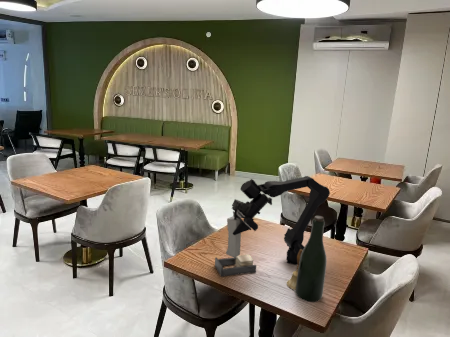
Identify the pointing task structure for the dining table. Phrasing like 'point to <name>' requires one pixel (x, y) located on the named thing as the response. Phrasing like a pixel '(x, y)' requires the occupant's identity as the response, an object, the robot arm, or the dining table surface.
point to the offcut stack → (243, 261)
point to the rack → (234, 270)
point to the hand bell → (294, 273)
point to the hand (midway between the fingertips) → (230, 231)
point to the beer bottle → (312, 265)
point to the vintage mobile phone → (233, 236)
